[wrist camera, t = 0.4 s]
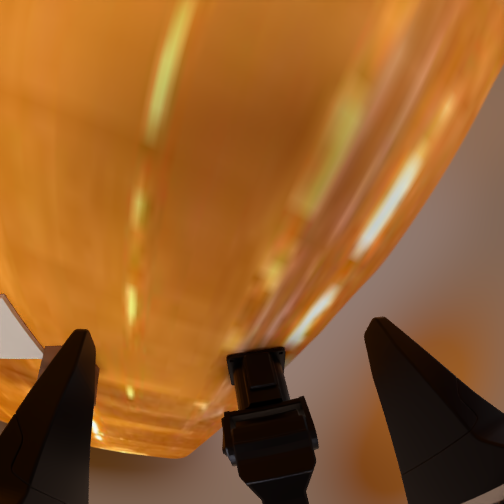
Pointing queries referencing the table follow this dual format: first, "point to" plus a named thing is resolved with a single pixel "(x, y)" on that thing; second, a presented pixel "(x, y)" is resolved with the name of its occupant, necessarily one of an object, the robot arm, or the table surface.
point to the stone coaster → (16, 335)
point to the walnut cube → (49, 355)
